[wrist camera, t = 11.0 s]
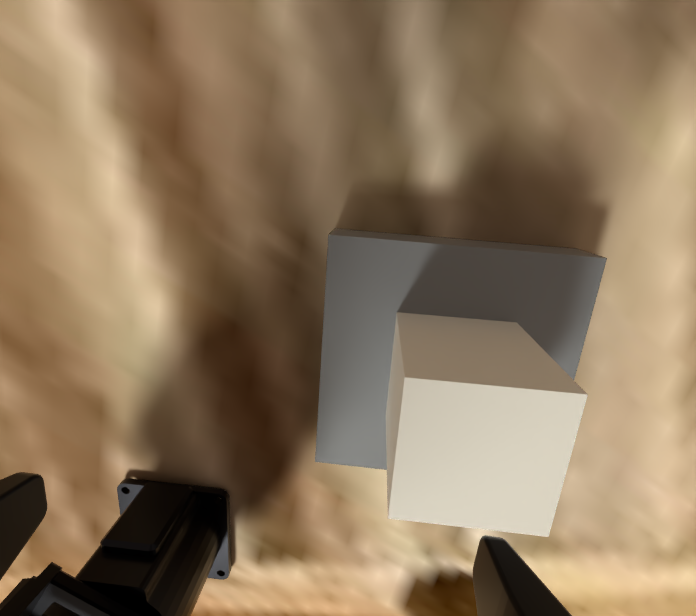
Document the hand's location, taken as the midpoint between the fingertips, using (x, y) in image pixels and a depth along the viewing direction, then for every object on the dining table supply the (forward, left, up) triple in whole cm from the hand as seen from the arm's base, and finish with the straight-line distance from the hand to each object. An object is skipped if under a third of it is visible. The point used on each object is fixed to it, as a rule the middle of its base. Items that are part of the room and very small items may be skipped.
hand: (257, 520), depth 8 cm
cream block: (-1, -6, -10) cm, 11 cm away
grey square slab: (-1, -6, -13) cm, 14 cm away
